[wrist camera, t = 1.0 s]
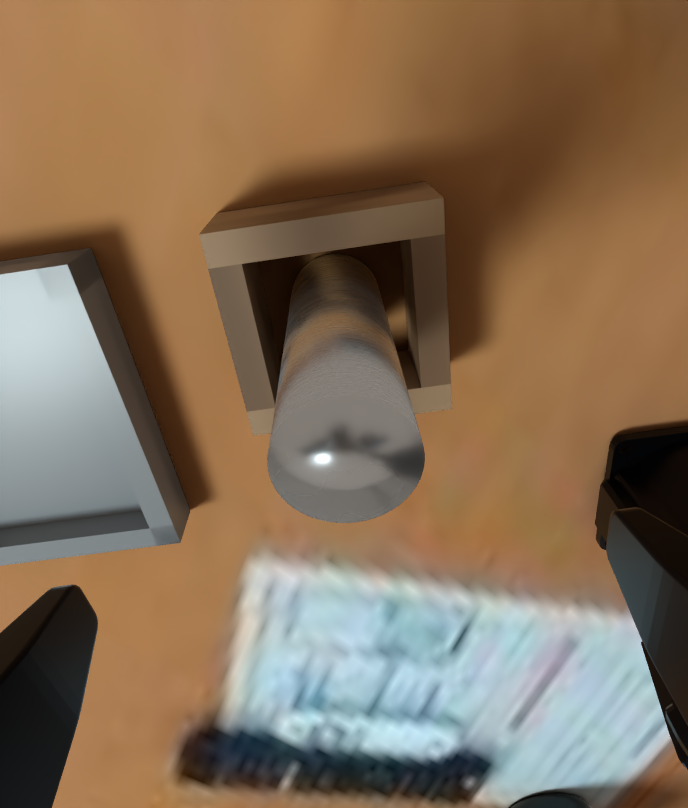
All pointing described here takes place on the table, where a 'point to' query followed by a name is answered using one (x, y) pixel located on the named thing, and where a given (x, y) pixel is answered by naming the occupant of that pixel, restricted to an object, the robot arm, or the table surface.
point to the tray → (75, 421)
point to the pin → (342, 400)
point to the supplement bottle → (552, 802)
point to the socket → (319, 232)
